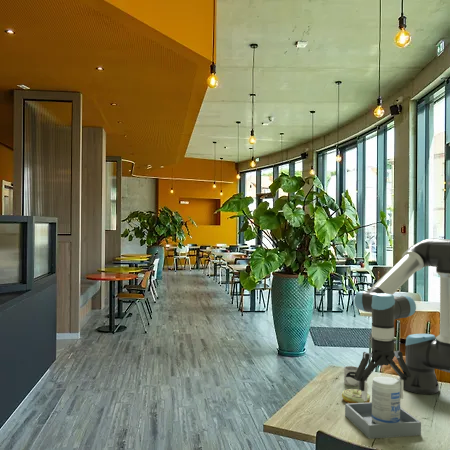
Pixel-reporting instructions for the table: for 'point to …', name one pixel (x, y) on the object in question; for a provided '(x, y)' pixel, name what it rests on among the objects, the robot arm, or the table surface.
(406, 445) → the table surface
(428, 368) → the robot arm
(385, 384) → the supplement tub
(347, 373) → the mug
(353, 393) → the decorated donut
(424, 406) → the table surface
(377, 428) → the bin
